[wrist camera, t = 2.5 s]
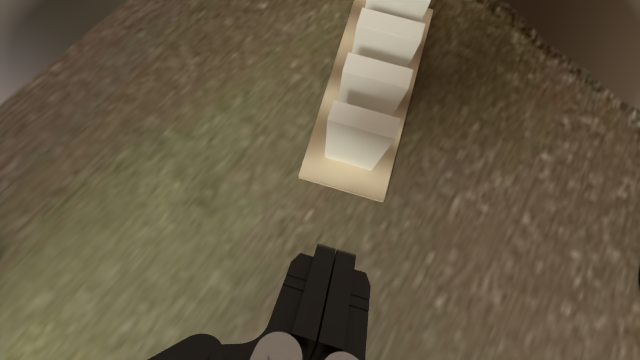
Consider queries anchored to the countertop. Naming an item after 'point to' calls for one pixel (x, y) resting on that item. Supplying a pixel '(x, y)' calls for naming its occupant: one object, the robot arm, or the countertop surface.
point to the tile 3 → (387, 37)
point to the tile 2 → (373, 84)
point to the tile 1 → (358, 134)
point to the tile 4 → (400, 8)
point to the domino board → (315, 161)
